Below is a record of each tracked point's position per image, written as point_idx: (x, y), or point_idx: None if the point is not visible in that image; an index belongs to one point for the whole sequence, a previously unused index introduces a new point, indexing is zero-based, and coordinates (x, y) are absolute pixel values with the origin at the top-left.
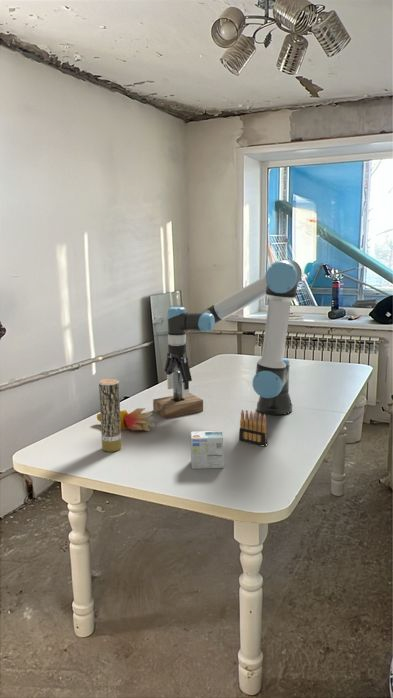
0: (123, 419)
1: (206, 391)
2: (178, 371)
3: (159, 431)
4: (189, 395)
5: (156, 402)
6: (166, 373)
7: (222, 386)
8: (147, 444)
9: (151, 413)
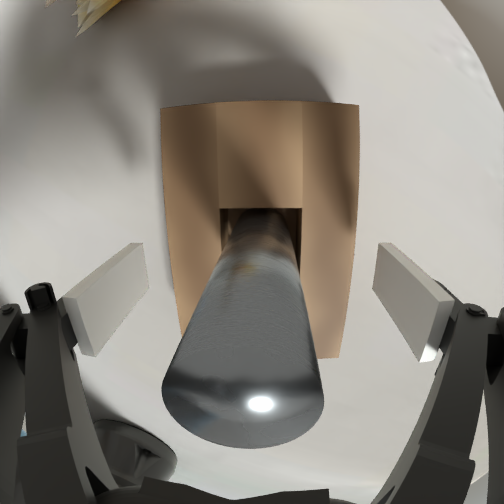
0: None
1: (394, 415)
2: (234, 417)
3: (70, 53)
4: None
5: (303, 102)
6: (475, 305)
7: (389, 452)
8: (25, 15)
9: (78, 8)
